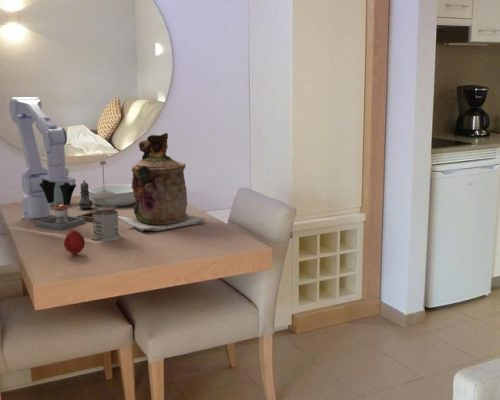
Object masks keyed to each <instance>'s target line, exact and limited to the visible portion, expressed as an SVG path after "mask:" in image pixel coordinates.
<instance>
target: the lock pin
mask: <svg viewBox="0 0 500 400" xmlns="http://www.w3.org/2000/svg"><path fill="white" fill-rule="evenodd" d="M53 208H54V209H53V210H55V213H54V214H55V216H56V221H55V224H57V225H62V224H65V223H68V222H69V221H68V216H69V214H68V209H69V205H66V206H65V205H64V204H56V205H53Z"/></svg>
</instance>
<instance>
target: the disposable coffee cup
mask: <svg viewBox="0 0 500 400" xmlns="http://www.w3.org/2000/svg"><path fill="white" fill-rule="evenodd" d="M45 168H46V167H45ZM46 169H47V170H48V167H47V168H46ZM65 169H66V176H68V177H69V173H70V170H69V168H68V167H66V166H65ZM60 185H64V184H62V183H55V187H54V202H52V203H50V206H54V205H56V204H64V202H63V195H62V191H61V189H60Z"/></svg>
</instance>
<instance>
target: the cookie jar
mask: <svg viewBox="0 0 500 400" xmlns="http://www.w3.org/2000/svg"><path fill="white" fill-rule="evenodd" d="M168 138H169V134H168V132H164V133H162V134H160V135H159V134H150V135H148V136H147V138H146V139H145V140H141V141H140V142H138V148H139V151H140V152H143V155H142V156H141V159H140V160H139V161H137V162H136V164H135V165H133V166H132V168H131V172H132V180H131V184H132V189H133V194H134V196H135V199H136V201H135V202H134V206H133V207H134V208H133V213H134V216H135V219H134V218H130V217H126V216H121V215H119V216H118V219H117V220H120V221H123V222H124V223H126V224H128V225H130V226H132V227H133V228H134V229H136V230H139V231H140V232H144V231H157V232H160V231H164V230H168V229H174V228H175V229H176V228H180V227H185V226H192V225H199V224H202V225H203V224H205V221H206V217H202V216H198V215H193V214H191V213H187V208H188V195H187V194H188V192H187V187H186V179H185V173H184V171H185V169H186V163H185V162H182V161H177V160H174V159H172V157H170V156H169V155H167V150H168V148H169V146H168Z"/></svg>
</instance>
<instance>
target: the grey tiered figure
mask: <svg viewBox="0 0 500 400" xmlns="http://www.w3.org/2000/svg"><path fill="white" fill-rule="evenodd" d="M79 194H80V200H78V201H77V205H78V207H79V208H80V209H83V210H88V209H91V208H92V207H93V203H94V202H93V201H92V199H91V198H90V195H89V183H87V182H86V181H85V180H83V182H81V183H80V192H79Z"/></svg>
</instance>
